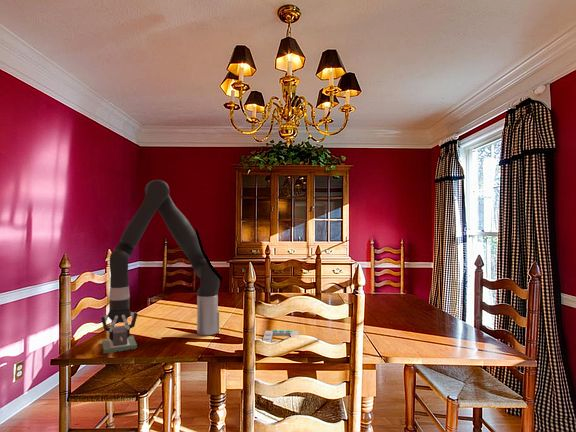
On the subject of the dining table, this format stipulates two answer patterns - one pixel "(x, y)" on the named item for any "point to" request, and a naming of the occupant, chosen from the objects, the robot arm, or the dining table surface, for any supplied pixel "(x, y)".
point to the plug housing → (119, 335)
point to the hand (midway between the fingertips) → (119, 339)
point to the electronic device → (269, 334)
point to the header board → (110, 348)
